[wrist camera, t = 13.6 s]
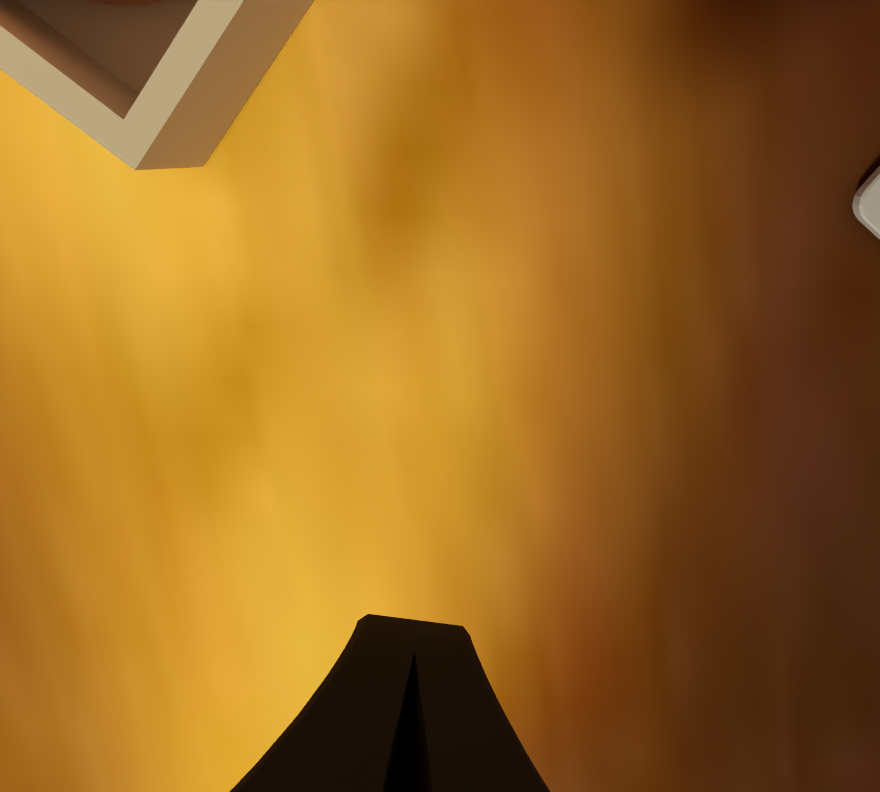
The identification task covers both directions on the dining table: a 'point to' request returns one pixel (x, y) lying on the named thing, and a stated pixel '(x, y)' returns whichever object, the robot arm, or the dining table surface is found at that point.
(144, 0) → the orange dome
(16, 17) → the open square beige box
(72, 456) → the dining table surface
